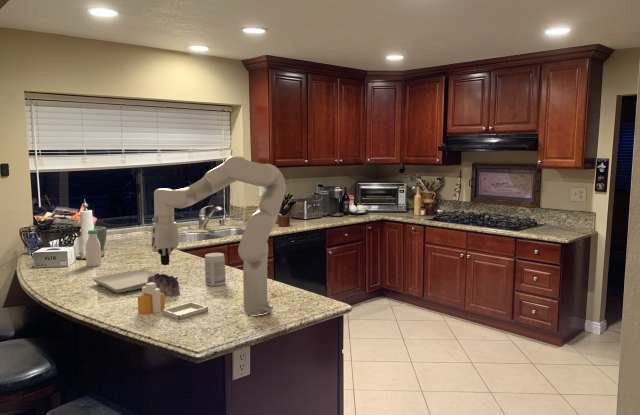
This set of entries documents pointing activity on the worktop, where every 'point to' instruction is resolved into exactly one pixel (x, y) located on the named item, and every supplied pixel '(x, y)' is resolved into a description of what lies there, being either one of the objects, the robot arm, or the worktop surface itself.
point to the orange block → (148, 303)
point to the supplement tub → (215, 269)
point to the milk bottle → (93, 249)
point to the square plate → (125, 280)
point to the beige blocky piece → (153, 296)
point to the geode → (165, 284)
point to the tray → (185, 310)
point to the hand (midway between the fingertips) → (165, 264)
